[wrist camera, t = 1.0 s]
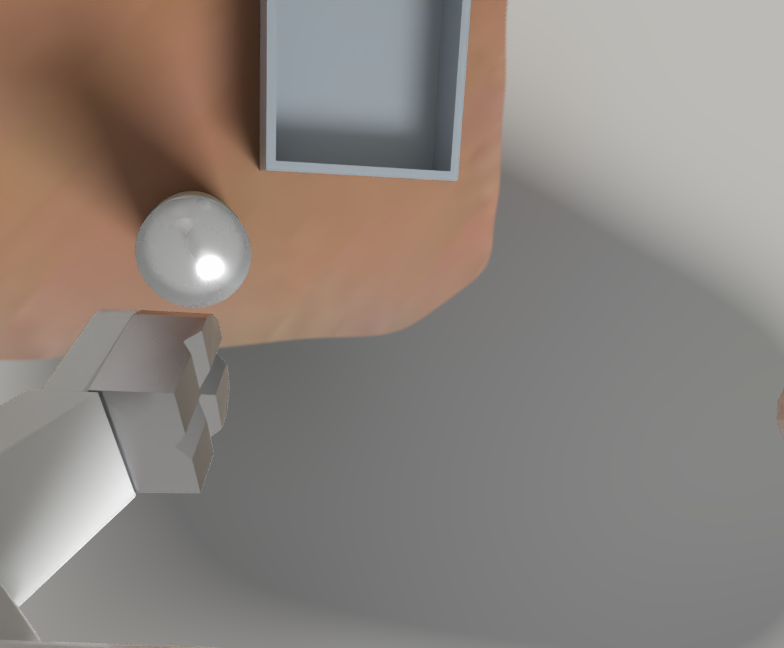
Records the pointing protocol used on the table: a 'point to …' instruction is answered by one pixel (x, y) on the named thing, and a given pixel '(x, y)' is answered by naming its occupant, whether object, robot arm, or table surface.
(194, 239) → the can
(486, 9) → the table surface
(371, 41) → the tote
